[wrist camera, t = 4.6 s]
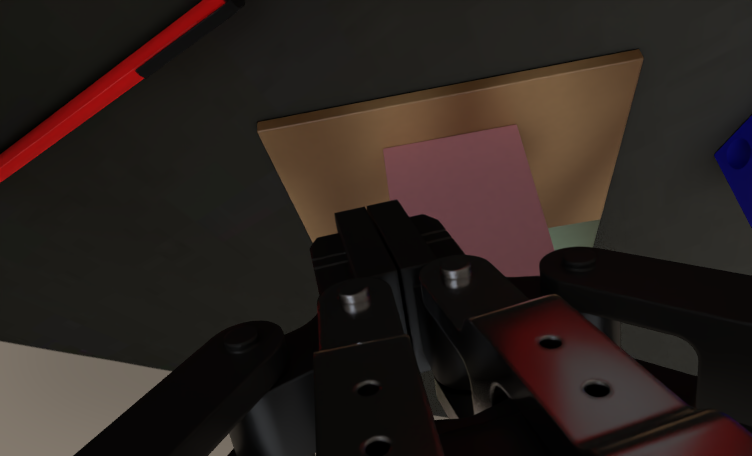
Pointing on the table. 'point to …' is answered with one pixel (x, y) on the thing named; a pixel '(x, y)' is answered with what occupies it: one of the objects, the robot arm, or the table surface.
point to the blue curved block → (739, 166)
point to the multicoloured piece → (460, 116)
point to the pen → (119, 80)
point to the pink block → (475, 195)
